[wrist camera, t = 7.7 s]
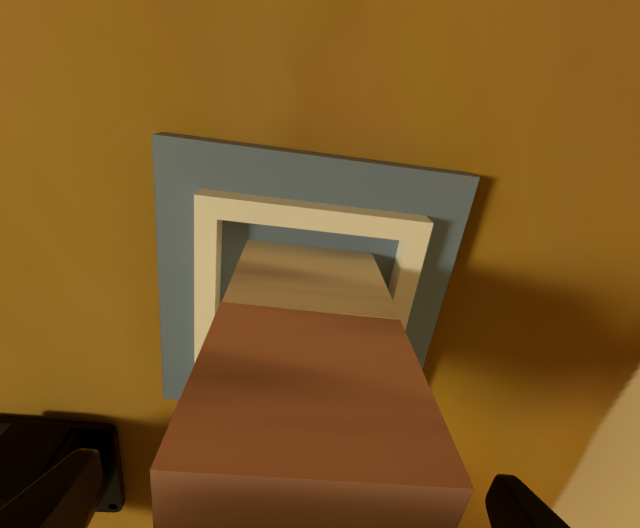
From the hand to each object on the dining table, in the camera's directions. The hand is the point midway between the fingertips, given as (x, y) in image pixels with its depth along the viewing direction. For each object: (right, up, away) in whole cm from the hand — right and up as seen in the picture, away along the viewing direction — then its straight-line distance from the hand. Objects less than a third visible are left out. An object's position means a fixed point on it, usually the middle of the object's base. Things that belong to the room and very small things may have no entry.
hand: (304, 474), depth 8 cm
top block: (0, +1, +3) cm, 3 cm away
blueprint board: (0, +4, +8) cm, 9 cm away
